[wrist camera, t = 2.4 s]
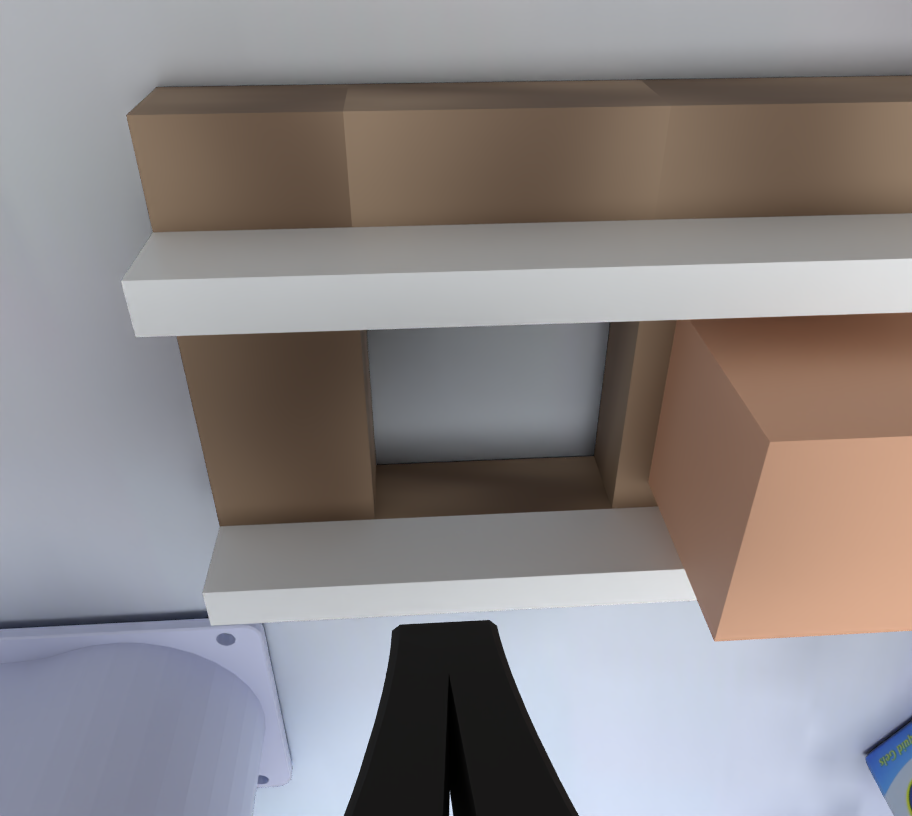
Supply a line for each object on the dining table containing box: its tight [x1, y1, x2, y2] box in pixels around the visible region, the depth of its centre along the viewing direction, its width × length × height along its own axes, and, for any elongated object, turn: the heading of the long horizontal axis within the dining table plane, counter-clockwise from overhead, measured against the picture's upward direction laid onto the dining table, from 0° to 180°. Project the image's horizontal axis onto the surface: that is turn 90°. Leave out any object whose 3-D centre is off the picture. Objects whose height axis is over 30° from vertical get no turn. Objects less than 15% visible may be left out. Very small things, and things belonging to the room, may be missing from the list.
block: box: [648, 312, 912, 641], centre depth 15 cm, size 4×4×4 cm
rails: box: [121, 213, 912, 626], centre depth 16 cm, size 18×8×2 cm, turn 90°
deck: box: [126, 76, 912, 526], centre depth 18 cm, size 25×12×2 cm, turn 90°
